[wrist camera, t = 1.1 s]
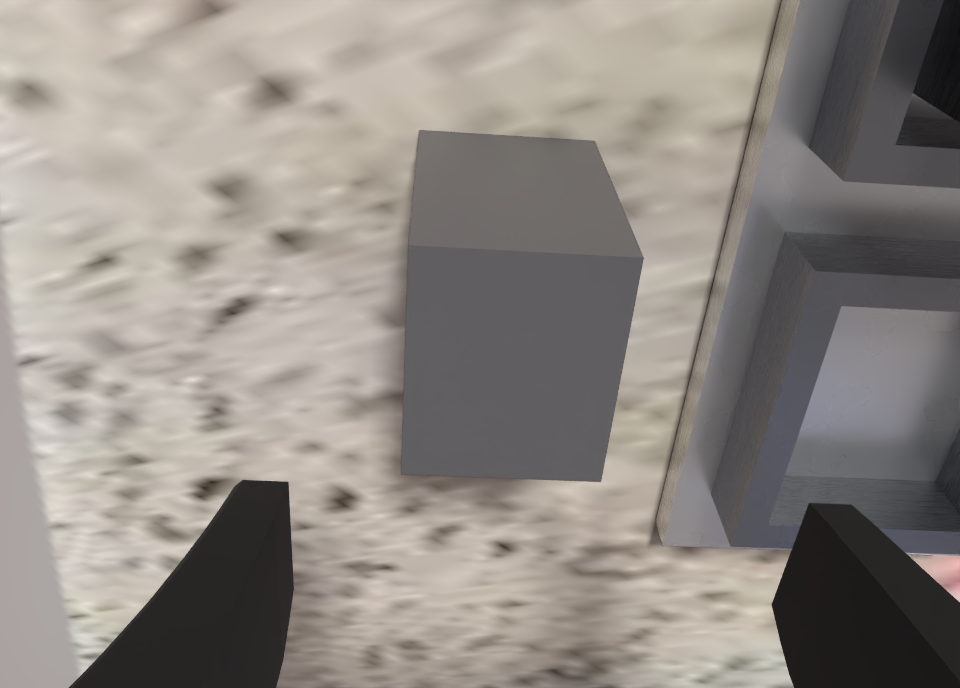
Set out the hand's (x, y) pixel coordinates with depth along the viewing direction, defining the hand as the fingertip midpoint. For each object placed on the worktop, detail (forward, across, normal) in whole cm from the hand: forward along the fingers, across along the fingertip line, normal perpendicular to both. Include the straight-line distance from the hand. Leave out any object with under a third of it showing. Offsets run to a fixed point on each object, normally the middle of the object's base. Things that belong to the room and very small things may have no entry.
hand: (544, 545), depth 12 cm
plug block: (+10, 0, 0) cm, 11 cm away
